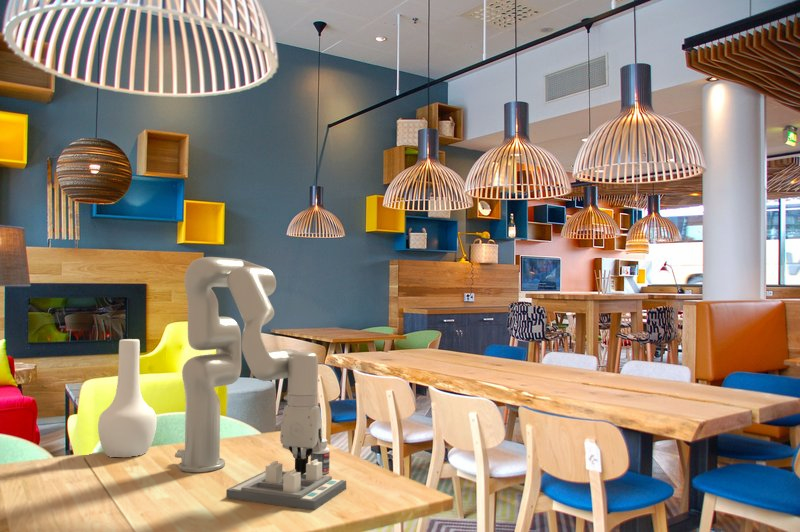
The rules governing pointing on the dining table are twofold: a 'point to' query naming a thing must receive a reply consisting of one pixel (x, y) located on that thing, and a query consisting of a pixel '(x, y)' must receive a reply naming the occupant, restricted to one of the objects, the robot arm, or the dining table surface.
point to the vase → (127, 409)
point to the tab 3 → (314, 470)
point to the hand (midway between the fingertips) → (301, 473)
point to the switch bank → (273, 493)
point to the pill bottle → (322, 456)
